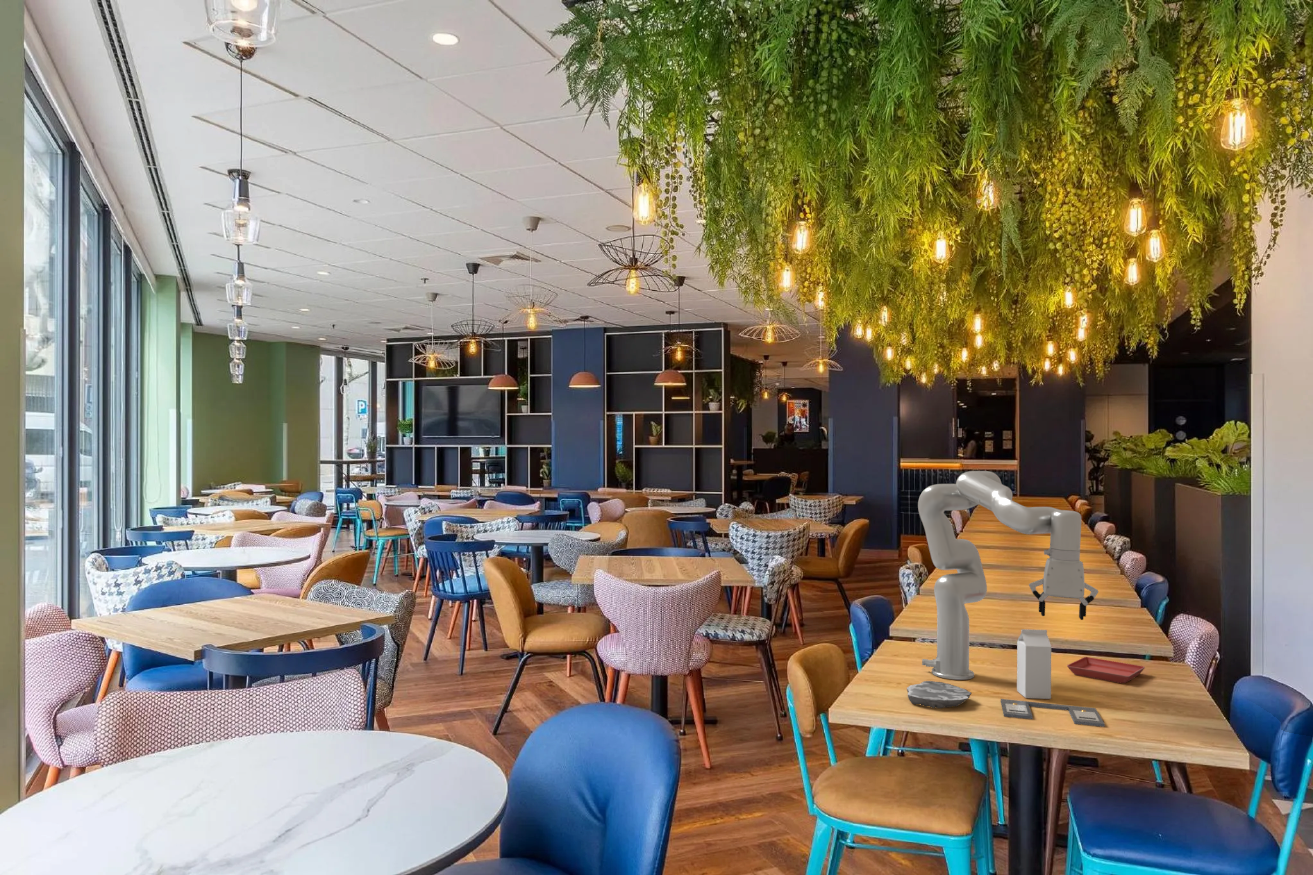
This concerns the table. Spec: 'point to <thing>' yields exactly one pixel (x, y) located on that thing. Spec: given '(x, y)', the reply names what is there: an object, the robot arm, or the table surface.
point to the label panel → (1077, 713)
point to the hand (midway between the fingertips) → (1061, 616)
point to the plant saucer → (1105, 669)
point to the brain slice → (937, 694)
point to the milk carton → (1034, 664)
